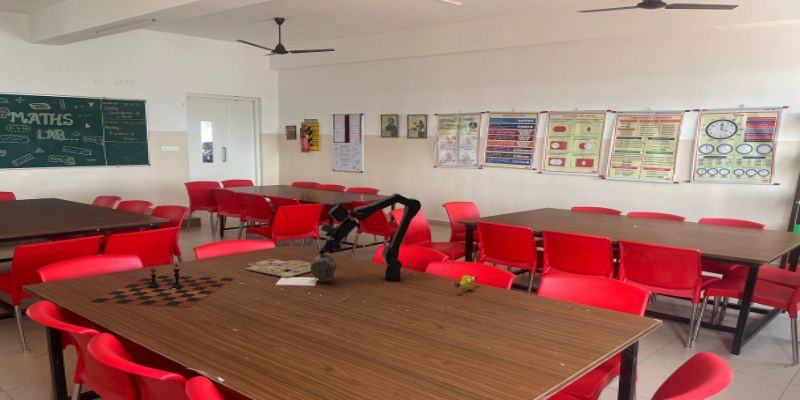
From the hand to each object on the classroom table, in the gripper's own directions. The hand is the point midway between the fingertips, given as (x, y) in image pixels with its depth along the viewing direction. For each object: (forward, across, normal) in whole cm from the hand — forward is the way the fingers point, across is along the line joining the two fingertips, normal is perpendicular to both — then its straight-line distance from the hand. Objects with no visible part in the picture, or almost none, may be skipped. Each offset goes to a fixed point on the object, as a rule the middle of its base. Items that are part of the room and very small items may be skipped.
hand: (319, 253), depth 226 cm
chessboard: (+54, +1, -34) cm, 64 cm away
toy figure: (-35, +21, +53) cm, 67 cm away
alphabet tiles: (+21, -30, -2) cm, 36 cm away
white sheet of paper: (+16, -4, +3) cm, 17 cm away
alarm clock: (+7, -1, +11) cm, 13 cm away
